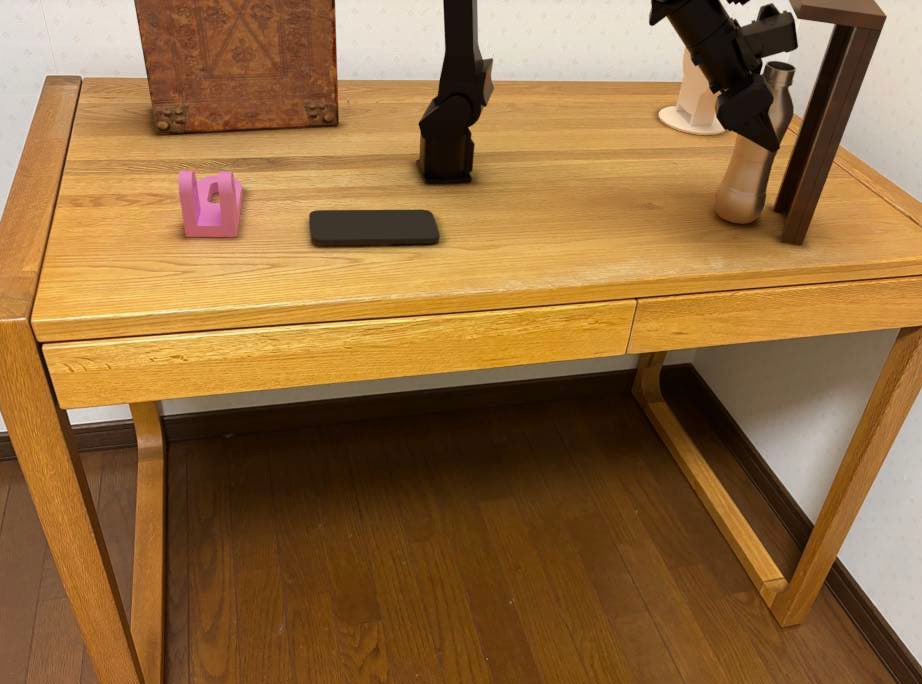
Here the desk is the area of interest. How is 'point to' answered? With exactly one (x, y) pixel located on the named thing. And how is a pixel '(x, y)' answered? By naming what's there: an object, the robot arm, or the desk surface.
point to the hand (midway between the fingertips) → (772, 135)
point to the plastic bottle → (756, 154)
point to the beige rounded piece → (693, 104)
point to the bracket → (210, 204)
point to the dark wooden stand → (827, 104)
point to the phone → (373, 227)
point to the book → (240, 64)
